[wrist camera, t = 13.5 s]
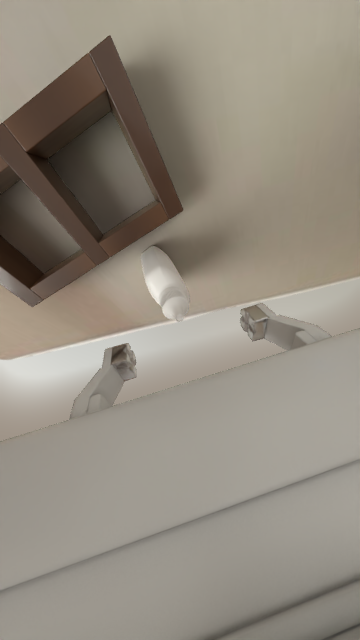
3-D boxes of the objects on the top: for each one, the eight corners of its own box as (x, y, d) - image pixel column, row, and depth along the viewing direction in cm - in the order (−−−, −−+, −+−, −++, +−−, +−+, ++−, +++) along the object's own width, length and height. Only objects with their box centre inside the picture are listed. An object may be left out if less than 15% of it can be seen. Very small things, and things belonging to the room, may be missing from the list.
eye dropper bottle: (147, 287, 25) (158, 347, 16) (138, 246, 21) (145, 292, 12) (177, 282, 25) (205, 337, 16) (173, 241, 22) (205, 281, 13)
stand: (114, 69, 14) (110, 33, 10) (175, 206, 20) (183, 210, 17) (-59, 205, 16) (-105, 209, 13) (45, 290, 22) (32, 307, 19)
